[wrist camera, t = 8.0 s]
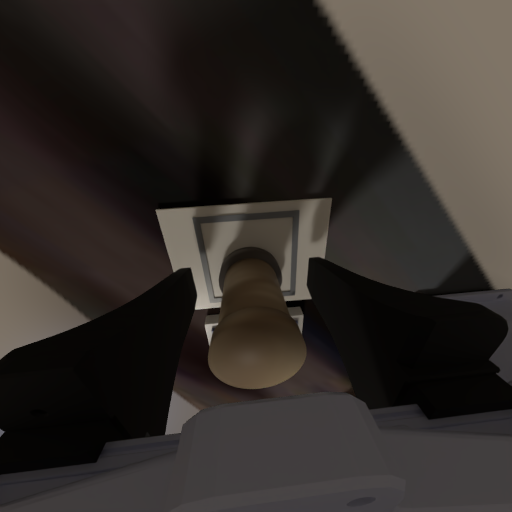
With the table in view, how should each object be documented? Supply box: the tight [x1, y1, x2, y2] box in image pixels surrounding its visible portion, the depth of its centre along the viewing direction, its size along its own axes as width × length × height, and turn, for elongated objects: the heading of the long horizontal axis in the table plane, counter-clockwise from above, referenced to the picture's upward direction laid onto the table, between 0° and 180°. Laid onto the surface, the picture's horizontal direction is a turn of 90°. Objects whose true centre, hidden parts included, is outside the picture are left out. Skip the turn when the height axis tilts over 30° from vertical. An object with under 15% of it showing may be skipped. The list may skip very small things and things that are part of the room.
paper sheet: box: [156, 198, 332, 310], centre depth 13 cm, size 11×8×1 cm
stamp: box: [208, 247, 306, 389], centre depth 11 cm, size 4×4×7 cm
